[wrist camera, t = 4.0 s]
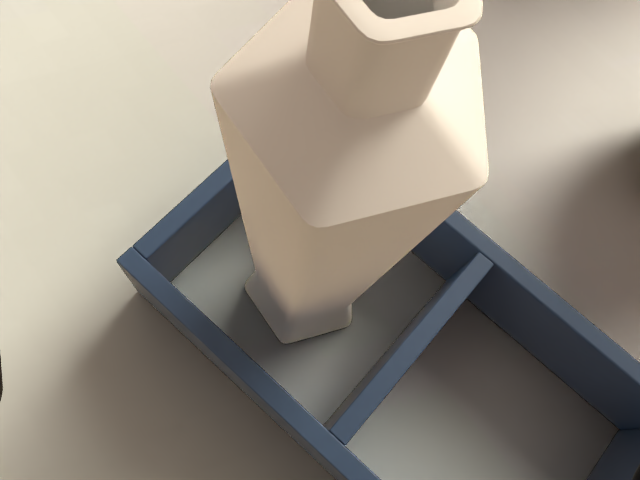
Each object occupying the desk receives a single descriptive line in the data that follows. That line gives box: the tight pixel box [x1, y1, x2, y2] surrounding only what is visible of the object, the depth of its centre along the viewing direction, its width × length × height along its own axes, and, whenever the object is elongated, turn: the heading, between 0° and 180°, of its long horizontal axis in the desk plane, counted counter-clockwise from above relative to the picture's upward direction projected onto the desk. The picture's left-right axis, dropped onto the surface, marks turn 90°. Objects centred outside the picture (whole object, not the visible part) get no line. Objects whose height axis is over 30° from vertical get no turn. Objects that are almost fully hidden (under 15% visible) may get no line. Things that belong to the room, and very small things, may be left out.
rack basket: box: [116, 159, 640, 480], centre depth 19 cm, size 8×16×4 cm, turn 48°
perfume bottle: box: [211, 0, 489, 344], centre depth 14 cm, size 5×4×15 cm
